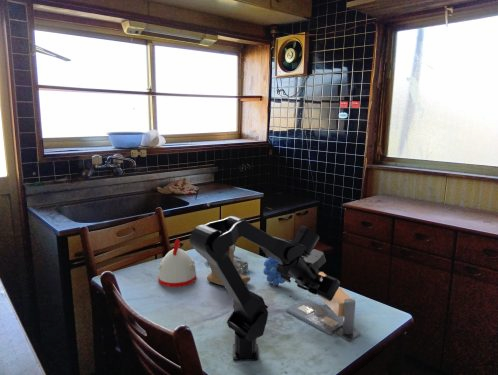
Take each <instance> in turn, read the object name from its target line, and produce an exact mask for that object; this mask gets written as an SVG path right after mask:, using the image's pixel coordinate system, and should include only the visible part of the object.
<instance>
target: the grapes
mask: <svg viewBox="0 0 498 375" xmlns="http://www.w3.org/2000/svg"><path fill="white" fill-rule="evenodd" d="M267 258H268V259H265V260H264V262H263V266H264V268H263V270H262V271H263V274H264V275H265V276H266V281H267V282H268V283H271V284H273V286H279V284H284V283H285V282H286V281H284V280H283V279H282V278H281V273H279V272H277V271H276V268H277V266H278V263H280V261H278V260H275V259H273V258H271V257H269V256H268V257H267Z"/></svg>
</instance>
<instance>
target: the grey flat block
mask: <svg viewBox="0 0 498 375" xmlns="http://www.w3.org/2000/svg"><path fill="white" fill-rule="evenodd" d="M334 334H335V335H336V336H338V337H340V338H342V339H344V340H345V341H348V342H350V343H351V342H353V341H354V340H355V339H357V338H358V337H360V336H361V332H359V331H357V330H355V329H354V332H353V334H345V333H344V332H343V328H341V329H339V330H338V331H336V332H335V333H334Z"/></svg>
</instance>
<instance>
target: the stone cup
mask: <svg viewBox="0 0 498 375" xmlns="http://www.w3.org/2000/svg"><path fill="white" fill-rule="evenodd" d="M234 253H235V251H234V252H233V248H232V246H231V247H230V251H229V257H230V259H231V260H232V262H233V261H234V257H235V256H234V255H235V254H234ZM206 262H207V263H208V266H209V268H210V270H211V271H210V272H211V273H209V274H208V275H207V276H206V279H207V281H209V282H211V283H214V284H217V285H220V286H224V285H223V283H222V281H221V280H220V278H219V276H218V275H217V273H216V272H215V270H214V268H213V267H212V265H211V263H210V262H209V261H207V260H206ZM240 276H241V278H242V280H243V281H244V283H245V285H247V283H249V282H250V281H251V277H249V276H246V275H245V274H244V275H243V274H240ZM224 287H225V286H224Z"/></svg>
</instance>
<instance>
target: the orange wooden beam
mask: <svg viewBox="0 0 498 375" xmlns="http://www.w3.org/2000/svg"><path fill="white" fill-rule="evenodd" d="M319 275H322V276H324V277H325V276H327V274H326V273H324V271H320V272H319ZM318 297H319V298H320V299H321V300H322V301H323V302H324V303H325V304H326V305H327V306H328V308H329V309H330V310H332V311H333V312H334V313H335V314H336V315H337V316H338V317H340V316H343V332H344V333H345V334H353V332H354V330H355V315H356V314H355V313H356V300H354V299H353V298H352V297H351V296H349V295H348V294H347V292H345V291H344V290H343V289H342V288H341V287H340V286H339V288H338V290H337V291H336V293H335V295H334V297H333V299H332V300H331V301H328V300H326V299H324V298H322V297H320V296H319V295H318Z"/></svg>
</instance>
